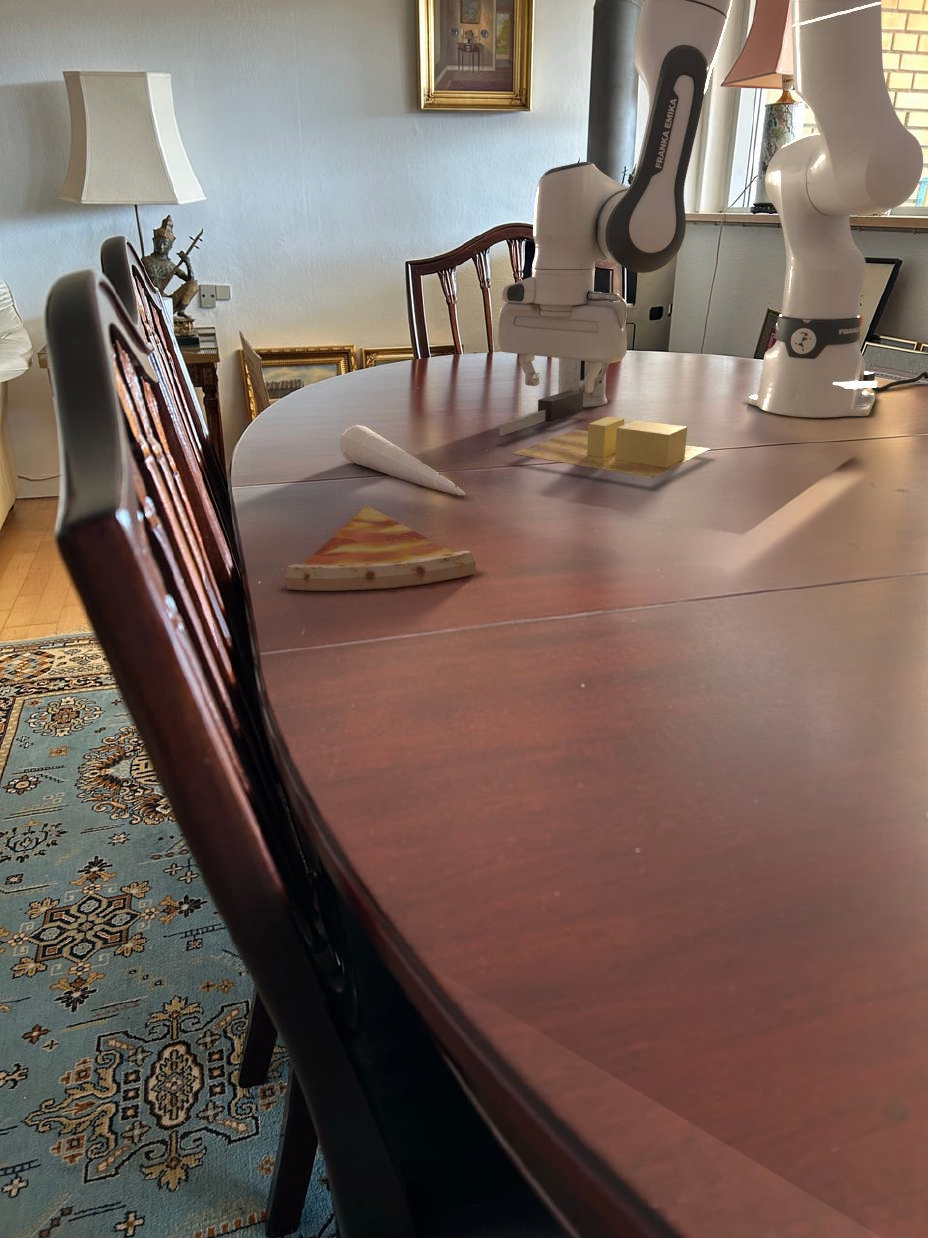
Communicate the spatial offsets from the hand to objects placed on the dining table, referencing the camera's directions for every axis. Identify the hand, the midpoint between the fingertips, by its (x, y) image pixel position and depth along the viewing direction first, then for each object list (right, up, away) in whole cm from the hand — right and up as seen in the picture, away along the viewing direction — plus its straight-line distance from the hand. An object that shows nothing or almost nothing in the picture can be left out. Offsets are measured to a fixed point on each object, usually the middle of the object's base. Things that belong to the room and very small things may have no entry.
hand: (558, 388), depth 133 cm
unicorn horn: (-22, -17, -22) cm, 35 cm away
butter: (+9, -15, -22) cm, 28 cm away
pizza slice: (-20, -28, -46) cm, 57 cm away
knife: (-3, -7, -1) cm, 7 cm away
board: (+5, -14, -18) cm, 23 cm away
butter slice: (+4, -13, -19) cm, 23 cm away
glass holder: (+7, +1, +16) cm, 17 cm away
